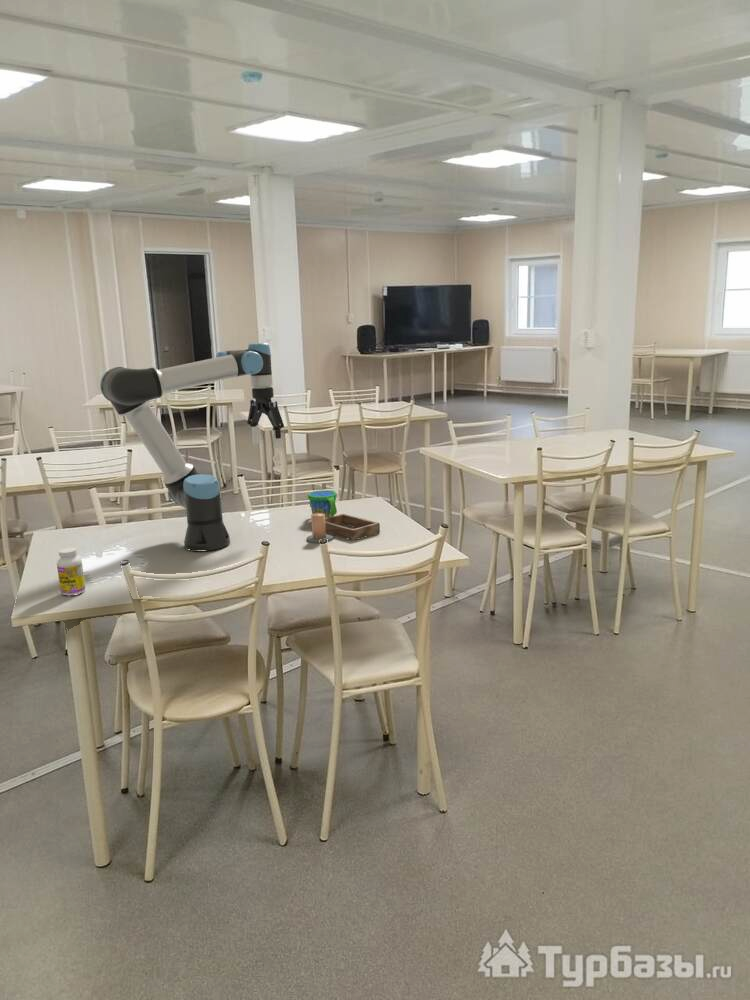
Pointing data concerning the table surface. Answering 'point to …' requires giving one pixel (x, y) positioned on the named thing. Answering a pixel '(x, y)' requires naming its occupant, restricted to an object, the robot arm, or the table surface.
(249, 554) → the table surface
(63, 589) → the supplement bottle
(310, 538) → the slate coaster
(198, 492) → the robot arm
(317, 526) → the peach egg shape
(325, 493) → the snack cup
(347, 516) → the tray
